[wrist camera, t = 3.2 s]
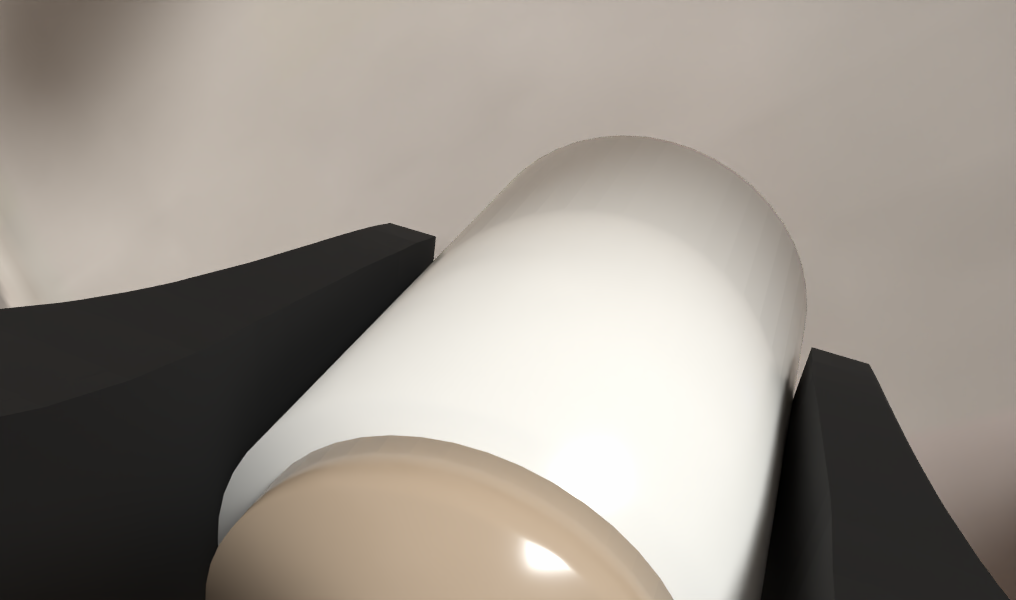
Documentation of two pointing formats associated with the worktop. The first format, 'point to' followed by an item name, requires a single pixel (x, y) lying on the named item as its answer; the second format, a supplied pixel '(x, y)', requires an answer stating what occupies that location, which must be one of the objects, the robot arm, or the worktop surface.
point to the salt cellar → (547, 404)
